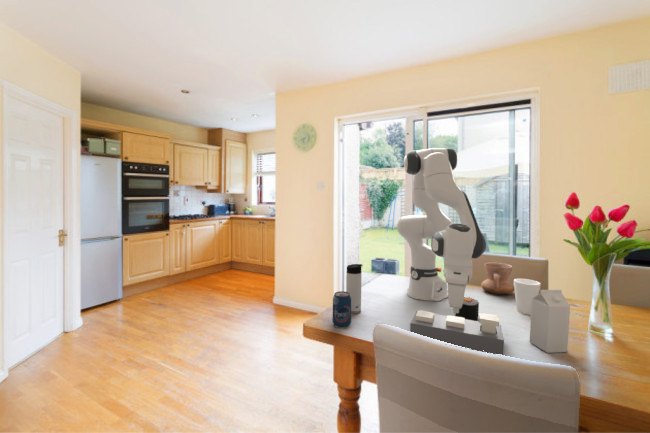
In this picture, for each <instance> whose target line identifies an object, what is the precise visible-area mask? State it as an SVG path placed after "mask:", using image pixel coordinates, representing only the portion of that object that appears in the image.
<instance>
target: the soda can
mask: <svg viewBox="0 0 650 433" xmlns="http://www.w3.org/2000/svg"><path fill="white" fill-rule="evenodd" d="M351 323H352V314H351V297H350V294H349V293H348V292H346V291H342V290H341V291H336V292H334V295H333V297H332V324H333V325H334V327H336V328H339V329H345V328H346V329H347V328H348V327H349V326H350V325H351Z"/></svg>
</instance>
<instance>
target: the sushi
mask: <svg viewBox="0 0 650 433" xmlns="http://www.w3.org/2000/svg"><path fill="white" fill-rule="evenodd" d="M479 304H480V302H479V301H478V299H475V298H473V297H470V296H469V297H468V296H467V297H465V296H464V299H463V304H462V308H461V309H459V313H454V316H456V317H462V318H465V319H467V320H473V321H479Z"/></svg>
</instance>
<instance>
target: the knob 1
mask: <svg viewBox="0 0 650 433" xmlns="http://www.w3.org/2000/svg"><path fill="white" fill-rule="evenodd" d="M417 311H418V312H417V314H416V320H418V321H424V322H430V323H432V322H433V319H434V314H435V312H432V311H425V310H421V309H420V310H419V309H418V310H417Z"/></svg>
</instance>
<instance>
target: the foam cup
mask: <svg viewBox="0 0 650 433" xmlns="http://www.w3.org/2000/svg"><path fill="white" fill-rule="evenodd" d="M513 286H514V297H515V309H516V312H518V313H519V314H523V315H529V316H531V307H532V298H534V297H535V296H537V295H539V294H540V291H541V282H539V281H537V280H534V279H528V278H514V279H513Z"/></svg>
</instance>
